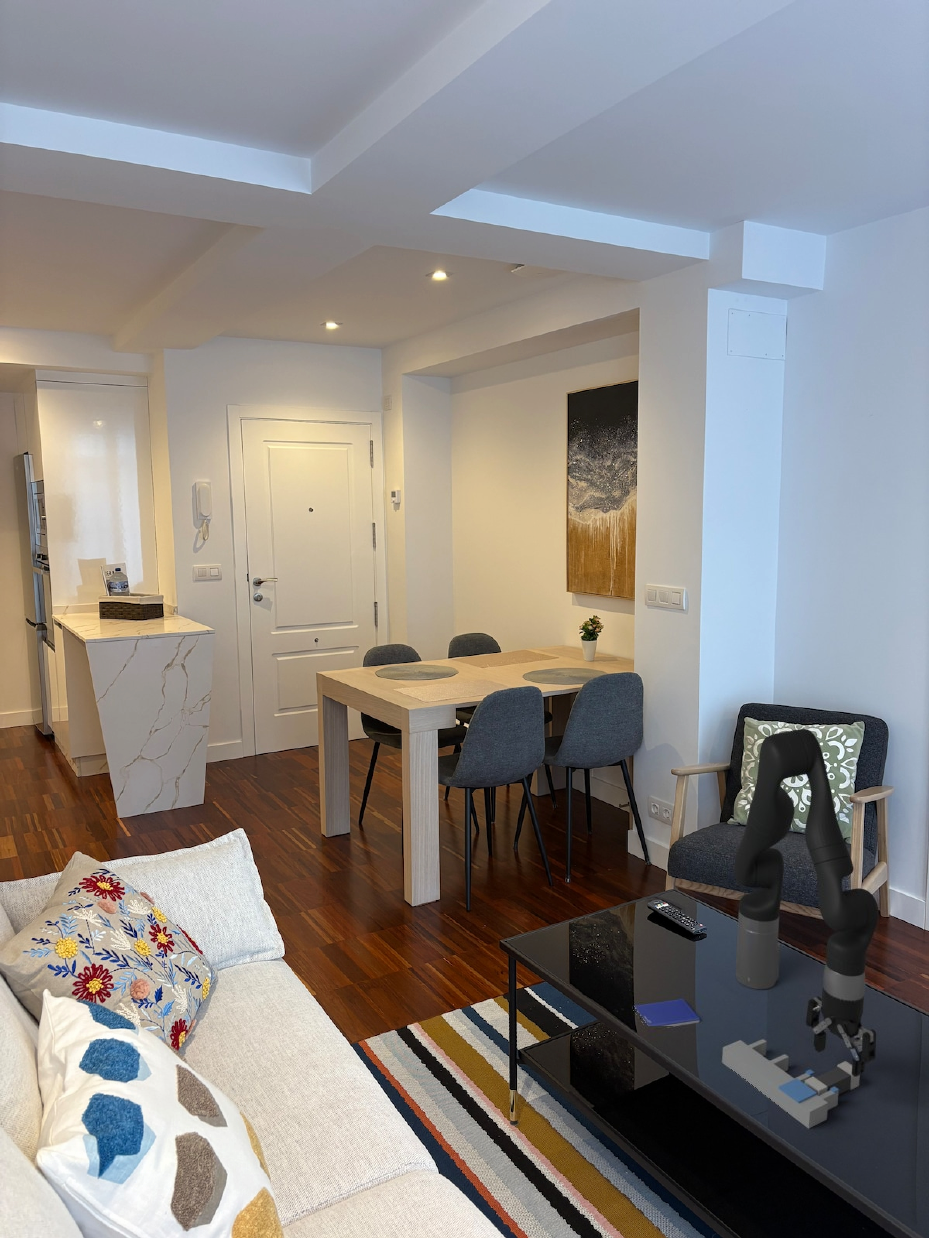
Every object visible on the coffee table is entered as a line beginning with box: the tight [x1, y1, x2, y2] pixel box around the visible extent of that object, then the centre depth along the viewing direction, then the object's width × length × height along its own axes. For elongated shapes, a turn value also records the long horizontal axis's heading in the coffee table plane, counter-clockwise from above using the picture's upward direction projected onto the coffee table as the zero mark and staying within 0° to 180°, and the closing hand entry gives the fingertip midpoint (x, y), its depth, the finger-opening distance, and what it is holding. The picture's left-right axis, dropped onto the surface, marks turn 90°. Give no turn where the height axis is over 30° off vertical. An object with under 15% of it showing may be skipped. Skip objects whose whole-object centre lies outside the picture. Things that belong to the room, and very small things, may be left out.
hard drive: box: [633, 998, 701, 1027], centre depth 204 cm, size 2×8×12 cm
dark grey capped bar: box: [805, 1060, 861, 1096], centre depth 179 cm, size 12×3×3 cm, turn 119°
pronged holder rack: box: [721, 1038, 839, 1130], centre depth 180 cm, size 10×22×4 cm, turn 29°
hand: (837, 1061), depth 179 cm, fingers open, 8 cm apart
